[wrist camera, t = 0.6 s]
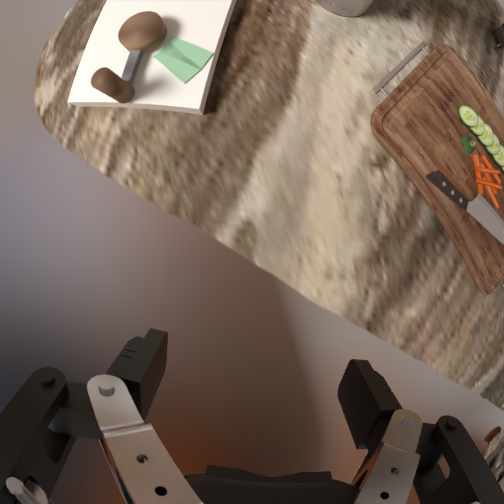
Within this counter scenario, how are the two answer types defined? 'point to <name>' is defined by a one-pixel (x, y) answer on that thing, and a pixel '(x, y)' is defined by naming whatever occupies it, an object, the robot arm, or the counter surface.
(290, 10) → the counter surface
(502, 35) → the alarm clock
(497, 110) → the chopping board
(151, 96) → the white square slab
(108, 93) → the crank handle
